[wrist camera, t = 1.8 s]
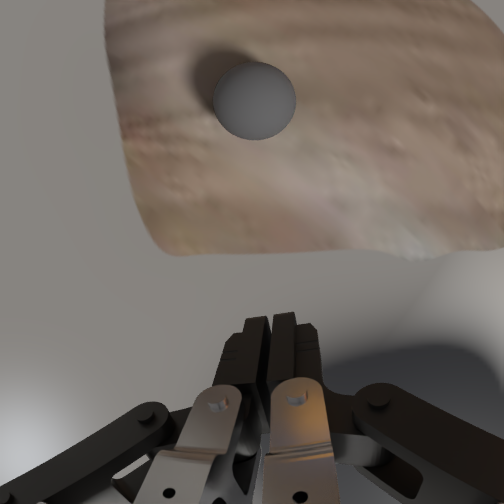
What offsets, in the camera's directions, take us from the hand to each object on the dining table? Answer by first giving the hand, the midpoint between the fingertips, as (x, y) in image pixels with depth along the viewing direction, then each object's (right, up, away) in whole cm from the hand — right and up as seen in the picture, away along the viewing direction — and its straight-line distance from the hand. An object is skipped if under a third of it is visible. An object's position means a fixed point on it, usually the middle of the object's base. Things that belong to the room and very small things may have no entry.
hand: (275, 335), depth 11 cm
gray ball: (-1, +14, +10) cm, 17 cm away
